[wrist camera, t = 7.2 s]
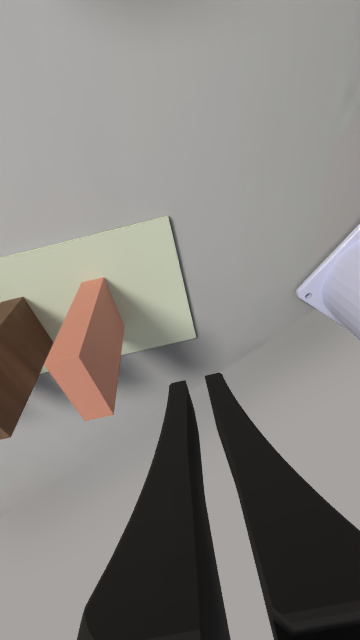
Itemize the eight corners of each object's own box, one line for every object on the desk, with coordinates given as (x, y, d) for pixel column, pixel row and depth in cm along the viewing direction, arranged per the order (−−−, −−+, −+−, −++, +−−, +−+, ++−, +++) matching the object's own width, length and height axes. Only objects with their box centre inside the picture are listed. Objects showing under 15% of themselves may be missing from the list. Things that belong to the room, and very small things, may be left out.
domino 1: (23, 296, 18) (-47, 385, 12) (54, 342, 21) (10, 437, 14) (1, 301, 18) (-81, 393, 12) (34, 347, 21) (-17, 443, 14)
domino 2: (103, 277, 18) (78, 356, 11) (124, 326, 21) (113, 414, 14) (81, 282, 18) (43, 364, 12) (105, 331, 21) (84, 420, 14)
